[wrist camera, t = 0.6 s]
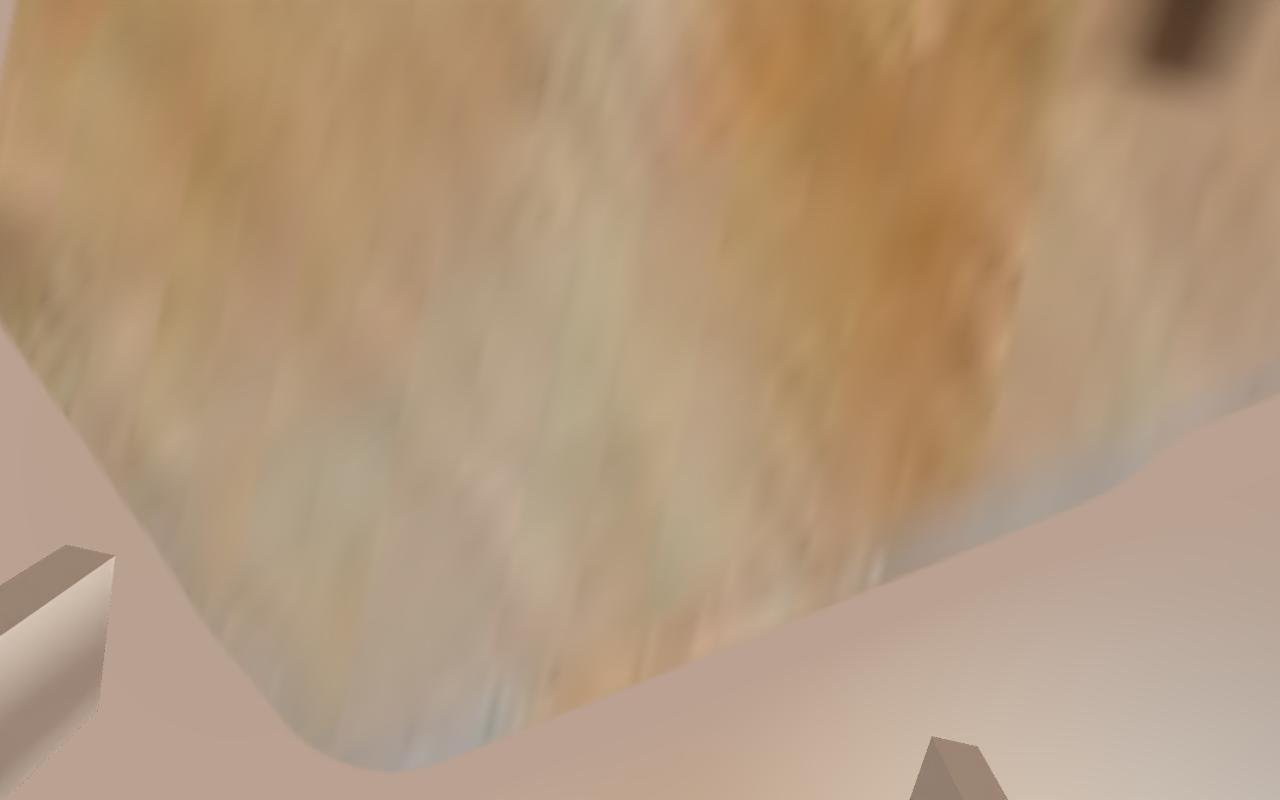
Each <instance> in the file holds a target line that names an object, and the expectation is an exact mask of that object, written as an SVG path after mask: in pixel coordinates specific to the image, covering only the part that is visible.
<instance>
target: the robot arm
mask: <svg viewBox="0 0 1280 800" xmlns="http://www.w3.org/2000/svg"><path fill="white" fill-rule="evenodd" d="M114 561H115V556H114V555H110V554H105V553H101V552H96V551H92V550H87V549H83V548H78V547H74V546H69V545H65V546H63V547H61V548H60V549H58V550H57V551H55V552H53V553H52V554H50V555H49V556H47V557H46V558H44V559H42V560H41V561H39V562H37V563H36V564H34V565H32V566H31V567H29V568H28V569H26V570H24V571H23V572H21V573H20V574H18V575H16V576H15V577H13V578H12V579H10V580H8V581H7V582H5V583H4V584H2V585H0V800H5V799H7V797H8V796H10V795H11V794H12V793H13V792H14V791H15V790H16V789H17V788H18V787H19V786H20V785H21V784H22V783H23V782H24V781H25V780H26V779H27V778H28V777H29V776H30V775H32V774H33V773H34V772H35V771H36V770H37V769H38V768H39V767H40V766H41V765H42V764H43V763H44V762H45V761H46V760H47V759H48V758H49V757H50V756H51V755H52V754H54V752H55V751H56V750H58V749H59V748H60V747H61V746H62V745H63V744H64V743H65V742H66V741H67V740H68V739H69V738H70V737H71V736H72V735H73V734H74V733H75V732H76V731H77V730H78V729H80V728H81V727H82V726H83V725H84V724H85V723H86V722H87V721H88V720H89V719H90V718H91V717H92V716H93V715H94V714H95V713H96V712H97V711H98V706H99V697H100V688H101V679H102V669H103V661H104V652H105V643H106V634H107V624H108V616H109V607H110V597H111V589H112V580H113V579H112V578H113V570H114ZM910 800H1008V799H1007V797H1006V796H1005V794H1004V792H1003V790H1002V788H1001V787H1000V785H999V783H998V781H997V780H996V778H995V776H994V774H993V773H992V771H991V769H990V767H989V766H988V764H987V762H986V760H985V759H984V757H983V755H982V753H981V752H980V750H979V748H978V747H977V746H973V745H968V744H964V743H959V742H955V741H950V740H946V739H941V738H937V737H931V740H930V743H929V746H928V749H927V752H926V755H925V758H924V760H923V763H922V766H921V769H920V772H919V775H918V778H917V780H916V783H915V786H914V789H913V792H912V795H911V798H910Z"/></svg>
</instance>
